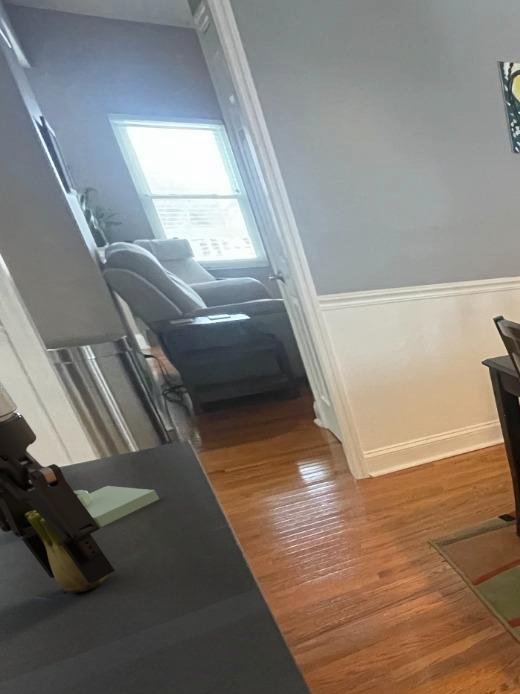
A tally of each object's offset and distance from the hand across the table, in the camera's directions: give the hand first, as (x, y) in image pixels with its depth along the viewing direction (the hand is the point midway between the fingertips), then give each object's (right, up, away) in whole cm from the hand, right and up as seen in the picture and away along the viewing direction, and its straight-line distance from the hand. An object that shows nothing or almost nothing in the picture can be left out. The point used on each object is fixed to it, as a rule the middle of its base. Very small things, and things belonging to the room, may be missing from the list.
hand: (82, 573), depth 82 cm
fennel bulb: (0, -2, +1) cm, 2 cm away
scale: (-18, +7, +20) cm, 28 cm away
